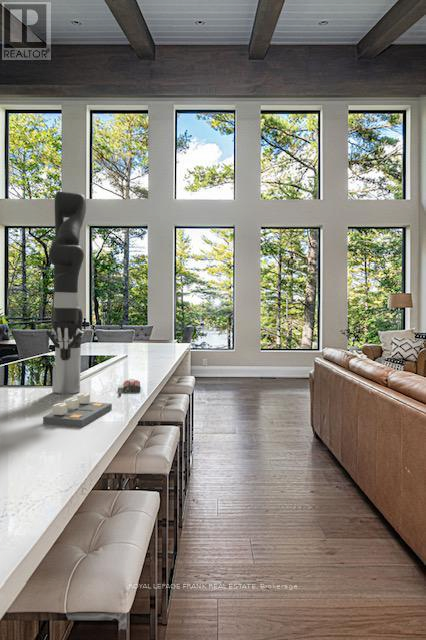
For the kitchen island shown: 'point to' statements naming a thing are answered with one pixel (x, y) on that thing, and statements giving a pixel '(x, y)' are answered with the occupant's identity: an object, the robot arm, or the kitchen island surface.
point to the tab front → (60, 409)
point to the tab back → (83, 398)
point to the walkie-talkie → (130, 386)
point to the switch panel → (79, 415)
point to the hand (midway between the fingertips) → (65, 360)
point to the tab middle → (72, 403)
